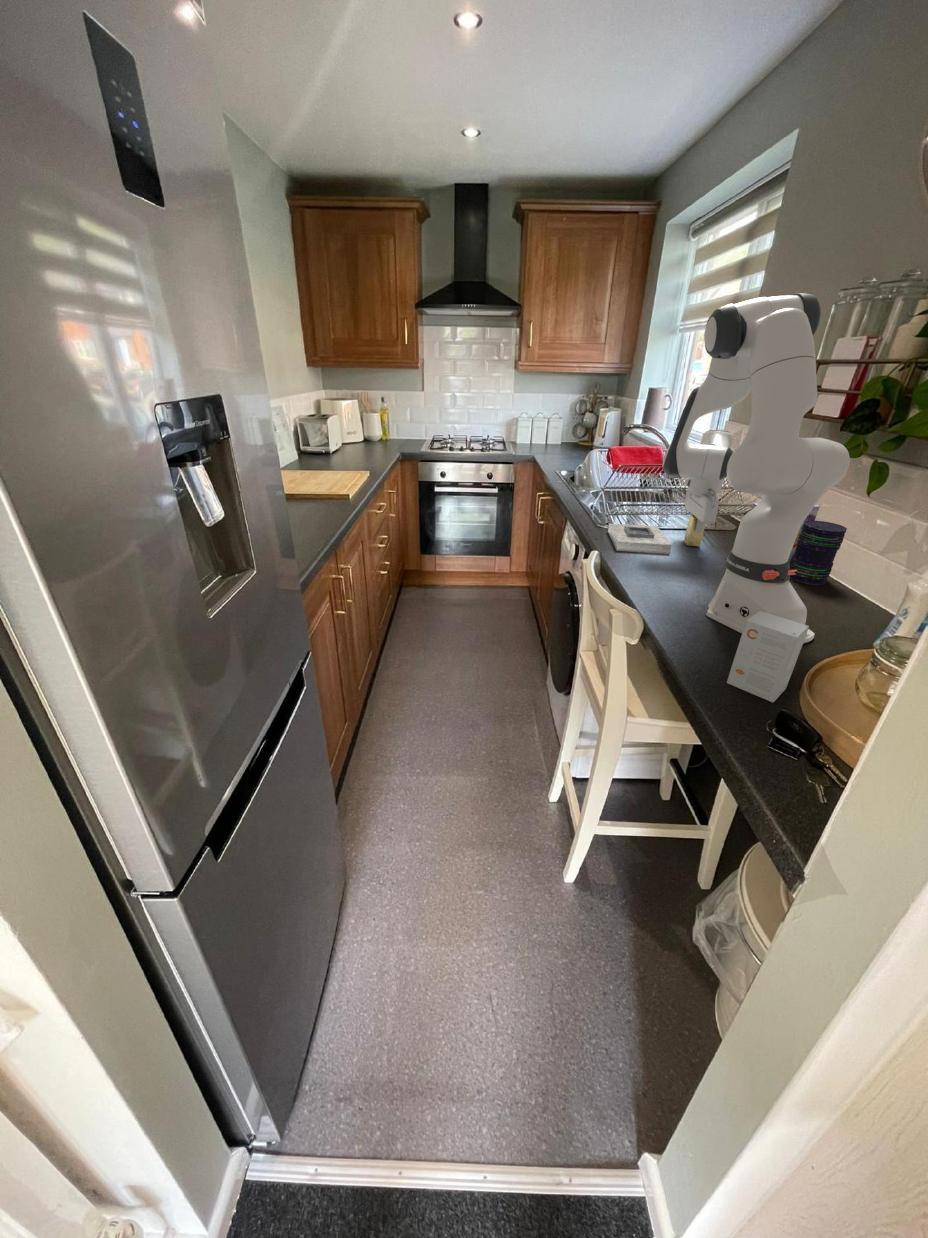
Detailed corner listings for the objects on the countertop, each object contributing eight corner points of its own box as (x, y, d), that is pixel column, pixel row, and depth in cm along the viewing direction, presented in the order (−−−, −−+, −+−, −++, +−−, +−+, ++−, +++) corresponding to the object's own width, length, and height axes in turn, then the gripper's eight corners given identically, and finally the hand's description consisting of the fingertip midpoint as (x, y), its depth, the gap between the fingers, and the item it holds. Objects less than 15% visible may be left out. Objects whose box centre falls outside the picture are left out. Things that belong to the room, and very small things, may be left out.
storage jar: (802, 569, 143) (820, 519, 136) (835, 582, 135) (856, 529, 128) (777, 573, 140) (794, 521, 133) (809, 586, 132) (829, 532, 125)
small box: (785, 689, 88) (811, 625, 82) (773, 704, 84) (798, 637, 78) (739, 670, 94) (759, 609, 88) (725, 683, 90) (745, 619, 84)
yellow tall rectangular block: (700, 545, 158) (707, 518, 154) (687, 545, 158) (693, 517, 154) (696, 542, 161) (703, 515, 157) (683, 541, 162) (690, 514, 158)
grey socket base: (669, 554, 152) (672, 541, 150) (616, 550, 154) (618, 538, 152) (655, 534, 170) (657, 523, 168) (607, 531, 171) (609, 520, 170)
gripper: (728, 493, 142) (716, 540, 148) (706, 480, 160) (696, 521, 166) (705, 492, 143) (694, 538, 149) (686, 479, 161) (676, 520, 167)
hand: (695, 529), depth 158 cm, fingers closed on yellow tall rectangular block, 4 cm apart
